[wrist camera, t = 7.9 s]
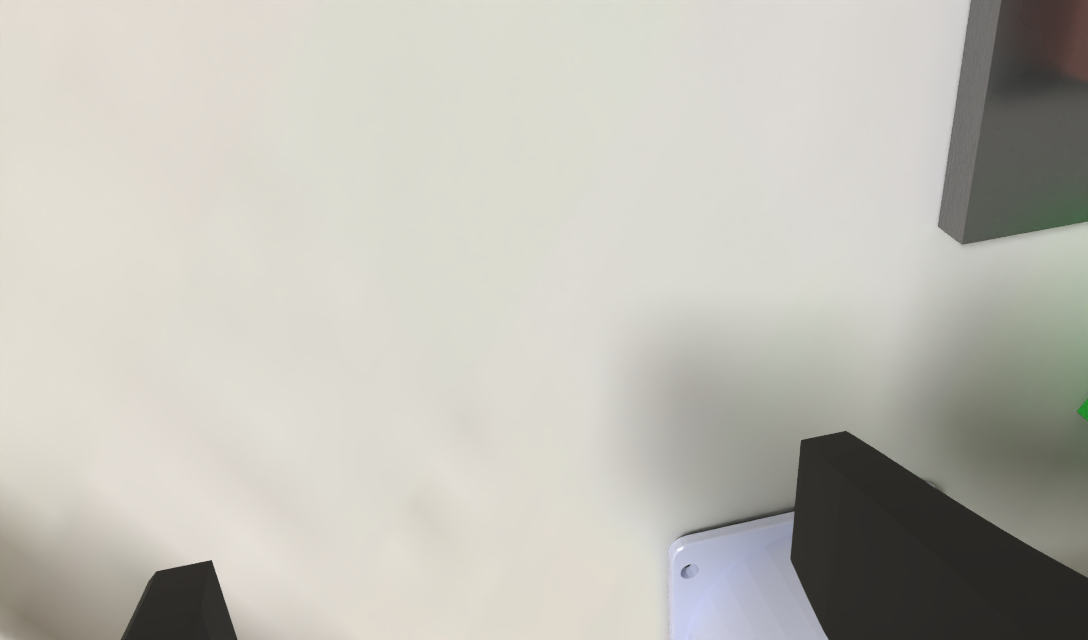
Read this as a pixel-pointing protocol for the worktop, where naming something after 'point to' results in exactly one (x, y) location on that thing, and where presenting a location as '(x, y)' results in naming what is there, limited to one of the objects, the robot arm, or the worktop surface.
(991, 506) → the worktop surface
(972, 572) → the robot arm
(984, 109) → the dark grey rectangular tray
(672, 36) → the worktop surface
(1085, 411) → the mechanical part
